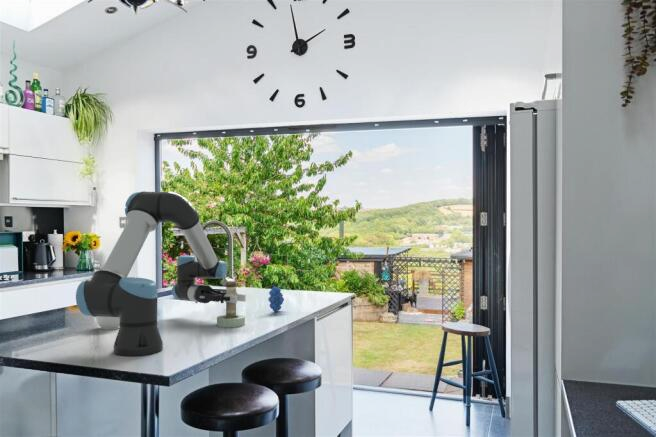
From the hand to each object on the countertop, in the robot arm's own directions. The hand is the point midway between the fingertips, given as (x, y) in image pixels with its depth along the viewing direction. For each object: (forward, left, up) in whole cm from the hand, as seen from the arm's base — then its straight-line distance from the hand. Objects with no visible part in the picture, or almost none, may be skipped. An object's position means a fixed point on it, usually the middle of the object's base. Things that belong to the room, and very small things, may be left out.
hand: (240, 298), depth 219 cm
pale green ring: (+2, +5, -11) cm, 12 cm away
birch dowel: (+2, +5, -8) cm, 10 cm away
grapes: (+34, -3, -11) cm, 36 cm away
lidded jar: (-18, +47, -11) cm, 52 cm away
